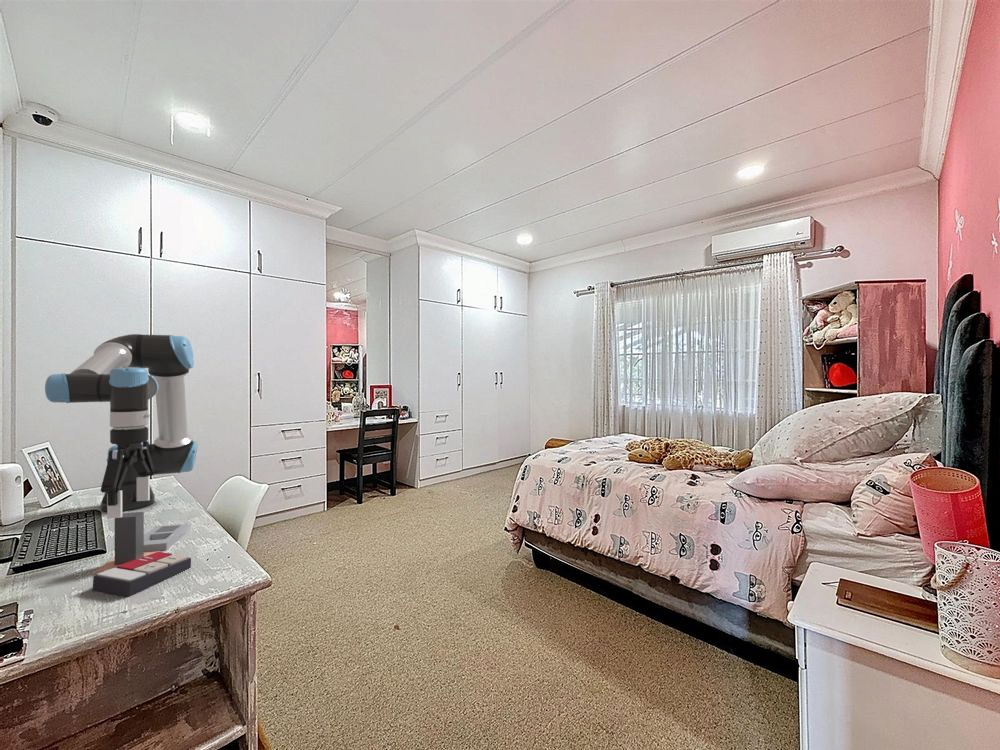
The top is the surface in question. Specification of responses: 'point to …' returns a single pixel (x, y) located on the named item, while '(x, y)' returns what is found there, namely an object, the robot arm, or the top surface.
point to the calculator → (140, 574)
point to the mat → (111, 564)
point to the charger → (129, 537)
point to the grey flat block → (164, 537)
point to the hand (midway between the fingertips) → (129, 508)
